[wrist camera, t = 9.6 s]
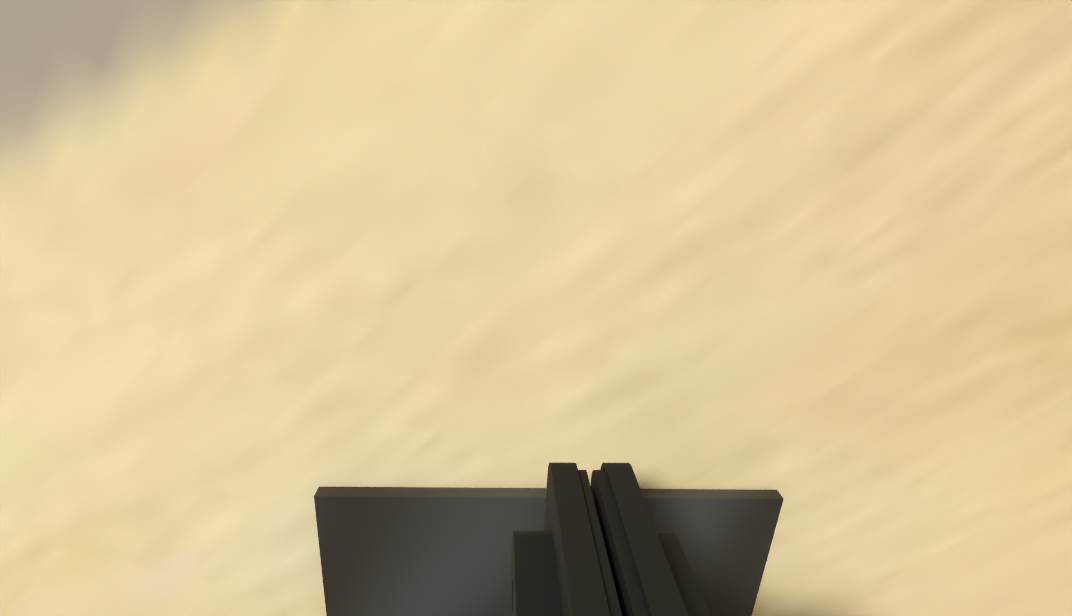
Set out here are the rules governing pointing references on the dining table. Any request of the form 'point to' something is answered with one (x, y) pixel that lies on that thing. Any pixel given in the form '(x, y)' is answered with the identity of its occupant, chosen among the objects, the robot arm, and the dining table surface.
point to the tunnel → (486, 545)
